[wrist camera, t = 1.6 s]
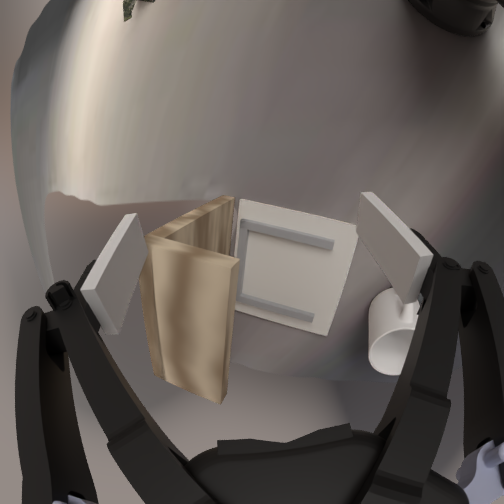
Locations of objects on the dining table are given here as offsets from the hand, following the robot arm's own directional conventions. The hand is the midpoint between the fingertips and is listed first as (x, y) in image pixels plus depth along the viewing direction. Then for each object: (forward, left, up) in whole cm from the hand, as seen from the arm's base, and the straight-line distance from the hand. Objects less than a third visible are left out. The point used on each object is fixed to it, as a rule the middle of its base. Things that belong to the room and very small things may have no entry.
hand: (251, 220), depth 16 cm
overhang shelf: (+8, +16, -24) cm, 30 cm away
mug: (-17, +16, -24) cm, 34 cm away
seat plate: (+1, +16, -24) cm, 29 cm away
